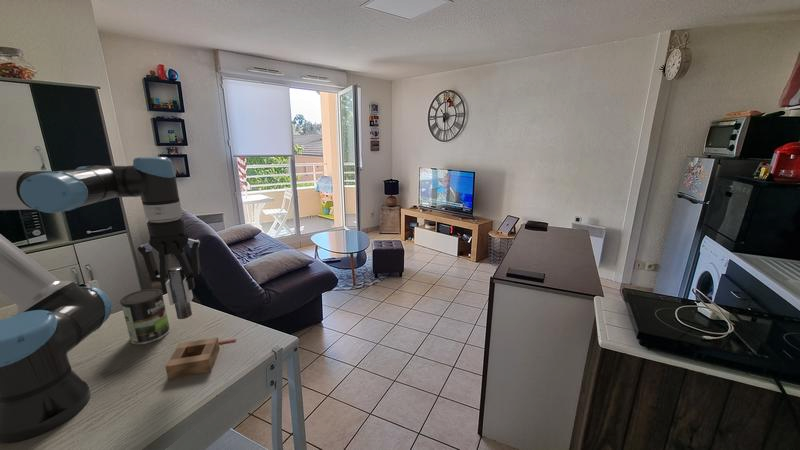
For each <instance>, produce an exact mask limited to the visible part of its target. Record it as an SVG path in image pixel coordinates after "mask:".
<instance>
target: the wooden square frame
mask: <svg viewBox="0 0 800 450" xmlns="http://www.w3.org/2000/svg"><path fill="white" fill-rule="evenodd" d="M218 341H219V337H217V336H216V337H211V338H205V339H198V340H191V341H186V342H180V343H178V345H177V347H176V348H175V350H174V351H173V353H172V355H171V357H170V358H169V360H168V362H167V363H166V365H165V370H166V374H167V375H166V376H167V380H172V379H176V378H183V377H189V376H194V375H199V374H204V373H210V372H212V369H213V367H214V365H215V363H216V360H217V357H218V354H219V351H220V344H219V342H218Z"/></svg>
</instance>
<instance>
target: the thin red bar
mask: <svg viewBox="0 0 800 450" xmlns="http://www.w3.org/2000/svg"><path fill="white" fill-rule="evenodd" d="M236 341H237V338H232V339H225V340H218V342H219V345H220V344H221V345H222V344H226V343H232V342H236Z"/></svg>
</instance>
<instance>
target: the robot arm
mask: <svg viewBox="0 0 800 450" xmlns="http://www.w3.org/2000/svg"><path fill="white" fill-rule="evenodd" d="M176 175H177V174H176V173H175V168H174V164H173V161H172V160H171V158H168V157H167V156H144V157H143V156H142V157H141V156H140V157H135V158H134V159H132V165H87V166H84V165H83V166H79V167H76V168H75V169H68V170H67V169H65V170H36V171H35V170H34V171H31V170H30V171H28V170H27V171H26V170H24V171H23V170H22V171H19V170H18V171H16V170H13V171H9V170H7V171H2V170H1V171H0V211H17V210H18V211H19V210H20V211H21V210H25V211H26V210H36V211H38V212H42V213H47V214H53V213H54V214H55V213H60V212H61V213H62V212H69V211H72V210H75V209H77V208H80V207H85V206H89V205H91V204H95V203H100V202H103V201H107V200H110V199H114V198H137V197H140V200H141V203H142V208H143V211H144V216H145V220H147V222H146V227H147V230H148V234H149V240H148V242H147V243H142V244H141V245H140V246H138V248H137V250H138V252H139V253H140V254H141V255H142V257H143V260H144V263H145V266H146V269H147V273H148V276H149V278H150V281H151V282H152V283H153V282H159V283H160V284H161V290H162V292H163V294H167V296H168V302H169V306H175V304H174V299H173V294H172V290H171V285H170V280H169V275H168V270H169V256H170V255H171V254H172V255H175V257H176V258H177V261H178V263H179V265H180V266H179V267H181V268H182V270H183V273H184V275H185V279H184V280H183V284H184V289H185V294H186V299H187V303H189V302H190V303H191V302H192V301H193V299H194V294H193V290H194V289H195V286H196V284H195V277H196V278H197V277H198V276H199V275H200V273H201V262H200V250H199V247H200V244H201V243H202V241H201V239H193V238H190V237H189V235H187V231H186V227H185V225H186V224H185V220H184V218H182V216H183V210H182V206H181V200H180V195H179V189H178V184H177V178H176V177H177V176H176ZM187 244H188V246H189V248H190V249H191V250H190V256H191V265H192V267H191V265H190V262H189V260H188V258H187V257H188V256H187V255H186V250H185V247H186V245H187ZM153 249H154V250H156V251H157V252H158V259H159V268H158V266H157V262H156V259H155V256H154V253H153ZM0 295H1V296H3V297H4V298H6V299H7V300H8V301H10V302H11V303H13V304H15V306H17V312H16V314H14V315H11V316H10V317H9V318H3V319H0V443H2V442H10V443H15V442H20V441H21V442H22V441H25V440H27V439H30V438H34V437H36V436H39V435H42V434H44V433H46V432H48V431H50V430H53V429H55V428H56V427H58V426H60V425H61V424H64V423H65V422H66V421H68V420H70V419H71V418H73V416H75V415H76V414H77V413H79V411H81V410H82V409H83V408H84V407H85V406H86V405H87V404H88V402H89V400H90V398H91V395H92V394H91V389H90V386H89V385H88V383H87V382H86V381H84V380H83V379H82V378H81V377H80V376H79V375H78V374H77V373H76V372H75V371H74V370H73V369H72V366H71V363H70V360H69V357H68V353H69V352H71V350H73V349H74V348H76V347H77V346H78V345H79V344H80V343H82V342H83V341H84V340H85V339H86V338H88V337H89V336H90V335H91V334H93V333H94V332H96V331H97V330H99V329H100V328H101V327H102V325H103V324H104V323H105V322H106V321H107V320H108V319H109V317H110V316H111V313H112V306H113V305H112V301H111V299H110V297H109V296H108V295H107V294H106V292H104V291H103V290H101V289H100V288H98V287H94V286H93V287H92V286H80V285H78V284H77V283H76V282H75V281H73V280H60V279H58V278H57V277H56V276H55V275H54V274H52V273H51V272H49V270H47V269H46V268H45V267H43V266H42V265H40V263H38V261H36V260H34V259H33V258H31V256H30V255H28V254H27V253H25V252H24V251H23V250H22V249H20V248H19V247H17V246H16V245H15V244H14V243H13V242H12V241H10V240H9V239H7V238H6V237H5V236H3V234H1V233H0Z"/></svg>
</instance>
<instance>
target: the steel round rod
mask: <svg viewBox="0 0 800 450" xmlns="http://www.w3.org/2000/svg"><path fill="white" fill-rule="evenodd" d="M168 277H169V278H168V279H169V280H170V285H171V290H172V294H173V299H174V308H175V312H176V313H175V314H176V317H177V319H178V320H184V319H185V320H186V319H187V318H190V317H192V315H193V312H192V307H191V302H189V303H187V299H186V294H185V289H184V284H183V280H184V279H185V275H184V273H183V270H182V268H181V266H175V267H171V268H168Z"/></svg>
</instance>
